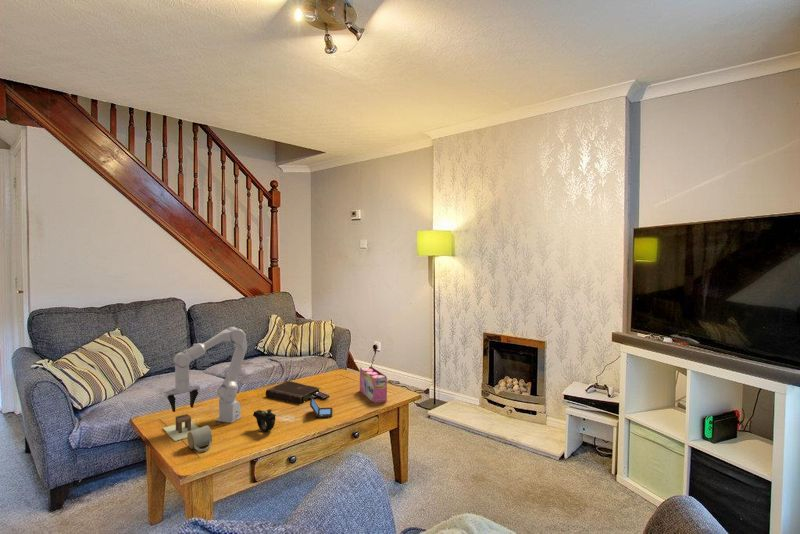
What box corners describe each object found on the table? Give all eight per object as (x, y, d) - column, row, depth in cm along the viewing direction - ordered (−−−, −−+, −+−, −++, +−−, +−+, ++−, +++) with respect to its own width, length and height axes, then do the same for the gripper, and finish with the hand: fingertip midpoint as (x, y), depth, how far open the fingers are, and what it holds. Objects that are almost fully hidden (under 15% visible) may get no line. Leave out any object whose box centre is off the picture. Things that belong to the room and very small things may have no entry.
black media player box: (300, 406, 229) (300, 397, 229) (265, 398, 241) (265, 389, 241) (322, 395, 246) (322, 386, 245) (288, 388, 257) (288, 380, 257)
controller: (269, 435, 191) (269, 412, 191) (251, 428, 198) (251, 407, 198) (277, 431, 195) (277, 409, 194) (259, 425, 202) (259, 404, 201)
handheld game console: (332, 418, 211) (332, 403, 211) (309, 419, 210) (309, 404, 209) (332, 409, 224) (332, 395, 223) (311, 410, 222) (311, 396, 222)
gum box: (358, 390, 253) (358, 367, 253) (371, 388, 257) (371, 365, 256) (373, 403, 232) (373, 378, 231) (387, 401, 235) (387, 376, 235)
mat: (204, 433, 193) (204, 432, 193) (174, 441, 184) (174, 440, 184) (191, 421, 206) (191, 420, 206) (163, 428, 198) (163, 427, 198)
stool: (191, 430, 195) (190, 417, 195) (179, 433, 192) (178, 419, 191) (187, 426, 199) (187, 413, 198) (175, 429, 195) (175, 416, 195)
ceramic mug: (186, 446, 180) (186, 428, 180) (206, 440, 186) (206, 422, 186) (194, 455, 173) (194, 436, 172) (215, 449, 178) (215, 430, 178)
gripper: (196, 374, 204) (196, 402, 205) (162, 380, 194) (162, 410, 195) (201, 377, 199) (201, 406, 200) (166, 384, 189) (167, 415, 190)
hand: (182, 409), depth 197 cm, fingers open, 7 cm apart
